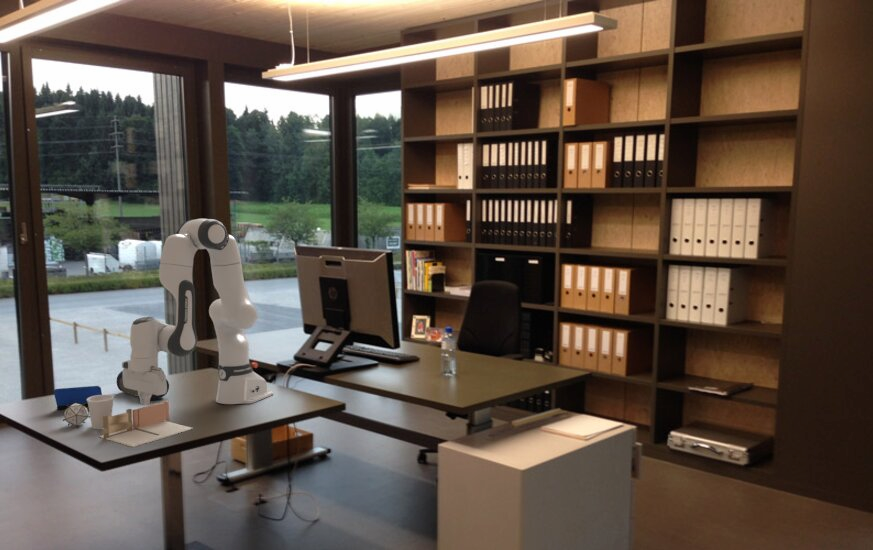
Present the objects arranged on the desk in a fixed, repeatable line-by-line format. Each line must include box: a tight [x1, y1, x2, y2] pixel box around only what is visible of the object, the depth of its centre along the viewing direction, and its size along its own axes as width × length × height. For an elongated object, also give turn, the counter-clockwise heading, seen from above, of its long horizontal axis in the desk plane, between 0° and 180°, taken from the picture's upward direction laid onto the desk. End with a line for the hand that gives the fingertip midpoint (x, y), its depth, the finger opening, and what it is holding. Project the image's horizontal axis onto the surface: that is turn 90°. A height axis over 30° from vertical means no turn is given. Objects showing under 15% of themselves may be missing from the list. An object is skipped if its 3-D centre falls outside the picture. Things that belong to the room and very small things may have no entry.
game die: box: [61, 401, 91, 429], centre depth 242 cm, size 9×8×10 cm
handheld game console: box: [53, 385, 103, 411], centre depth 266 cm, size 16×13×9 cm
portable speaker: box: [116, 370, 170, 400], centre depth 281 cm, size 25×10×10 cm, turn 55°
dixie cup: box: [87, 394, 115, 430], centre depth 241 cm, size 8×8×10 cm
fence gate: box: [132, 400, 170, 428], centre depth 242 cm, size 14×2×6 cm, turn 147°
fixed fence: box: [102, 408, 133, 440], centre depth 232 cm, size 10×2×7 cm, turn 147°
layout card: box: [99, 420, 194, 448], centre depth 235 cm, size 22×18×1 cm
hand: (145, 404), depth 248 cm, fingers closed
